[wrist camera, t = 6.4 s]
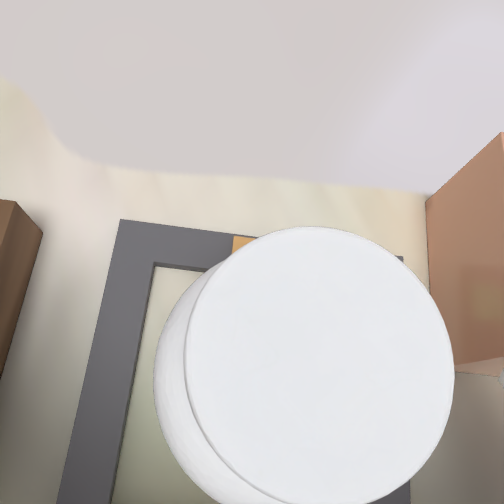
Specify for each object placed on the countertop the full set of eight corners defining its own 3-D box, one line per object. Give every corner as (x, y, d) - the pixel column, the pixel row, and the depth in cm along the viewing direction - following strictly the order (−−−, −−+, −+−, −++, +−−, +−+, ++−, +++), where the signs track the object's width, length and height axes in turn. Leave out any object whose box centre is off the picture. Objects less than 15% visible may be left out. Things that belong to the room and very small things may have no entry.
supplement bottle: (139, 381, 15) (44, 333, 6) (254, 283, 17) (321, 127, 7) (243, 512, 14) (327, 703, 5) (355, 394, 16) (573, 369, 6)
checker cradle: (397, 260, 18) (405, 254, 17) (405, 589, 14) (416, 598, 13) (122, 224, 17) (119, 216, 16) (47, 561, 13) (39, 569, 12)
